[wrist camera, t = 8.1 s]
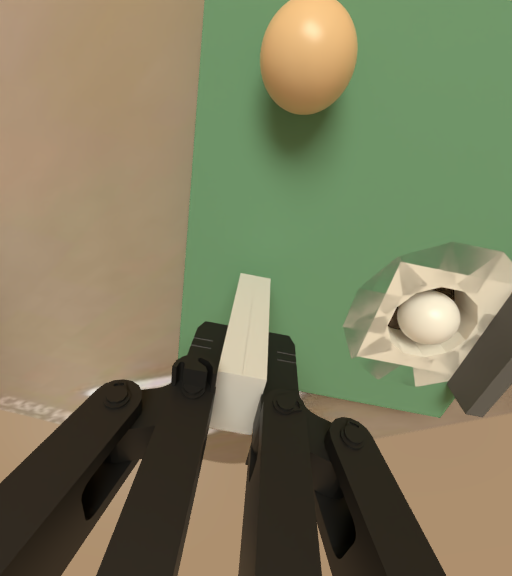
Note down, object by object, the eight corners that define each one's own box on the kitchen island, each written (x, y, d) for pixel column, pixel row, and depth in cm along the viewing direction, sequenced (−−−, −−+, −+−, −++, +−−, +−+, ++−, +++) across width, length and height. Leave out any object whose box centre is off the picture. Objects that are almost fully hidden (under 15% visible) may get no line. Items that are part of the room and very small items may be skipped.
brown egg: (255, 107, 12) (248, 101, 9) (272, 3, 11) (269, -41, 8) (331, 123, 12) (346, 123, 9) (359, 23, 11) (387, -14, 8)
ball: (411, 357, 16) (455, 355, 17) (439, 310, 15) (486, 311, 16) (378, 321, 19) (417, 321, 20) (399, 278, 17) (441, 280, 18)
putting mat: (187, 343, 22) (166, 394, 18) (222, -34, 12) (192, -116, 8) (433, 390, 22) (468, 451, 18) (660, 66, 12) (846, 37, 8)
